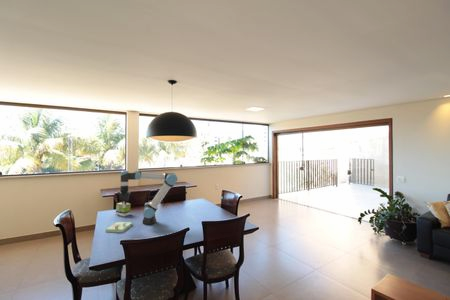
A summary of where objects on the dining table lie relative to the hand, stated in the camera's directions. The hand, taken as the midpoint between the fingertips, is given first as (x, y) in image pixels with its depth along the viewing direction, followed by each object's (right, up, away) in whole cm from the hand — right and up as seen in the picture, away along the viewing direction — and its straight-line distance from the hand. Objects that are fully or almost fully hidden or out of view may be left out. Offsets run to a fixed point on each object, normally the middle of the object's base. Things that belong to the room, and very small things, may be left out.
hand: (124, 207), depth 222 cm
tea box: (-24, -22, +47) cm, 57 cm away
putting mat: (-5, -22, 0) cm, 22 cm away
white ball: (0, -18, 0) cm, 18 cm away
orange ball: (-3, -17, -9) cm, 20 cm away
